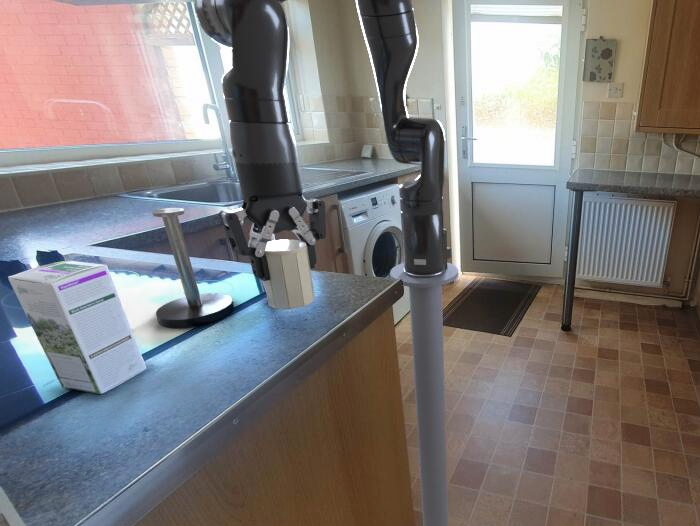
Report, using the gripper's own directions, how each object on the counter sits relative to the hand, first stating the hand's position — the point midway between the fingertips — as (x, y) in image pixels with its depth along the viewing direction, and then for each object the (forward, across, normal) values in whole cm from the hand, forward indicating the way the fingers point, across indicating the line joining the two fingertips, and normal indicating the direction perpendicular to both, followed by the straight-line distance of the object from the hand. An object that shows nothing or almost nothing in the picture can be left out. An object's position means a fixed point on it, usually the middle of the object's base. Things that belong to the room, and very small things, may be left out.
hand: (287, 272), depth 62 cm
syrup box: (+9, -22, +4) cm, 24 cm away
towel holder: (+9, -8, +15) cm, 19 cm away
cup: (+5, 0, 0) cm, 5 cm away
